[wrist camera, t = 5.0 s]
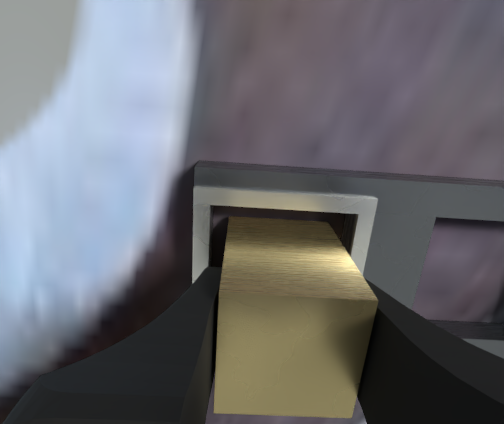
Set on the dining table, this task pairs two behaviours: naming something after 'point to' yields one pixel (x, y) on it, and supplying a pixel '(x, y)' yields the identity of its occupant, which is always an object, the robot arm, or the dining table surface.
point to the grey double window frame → (358, 219)
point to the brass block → (290, 321)
